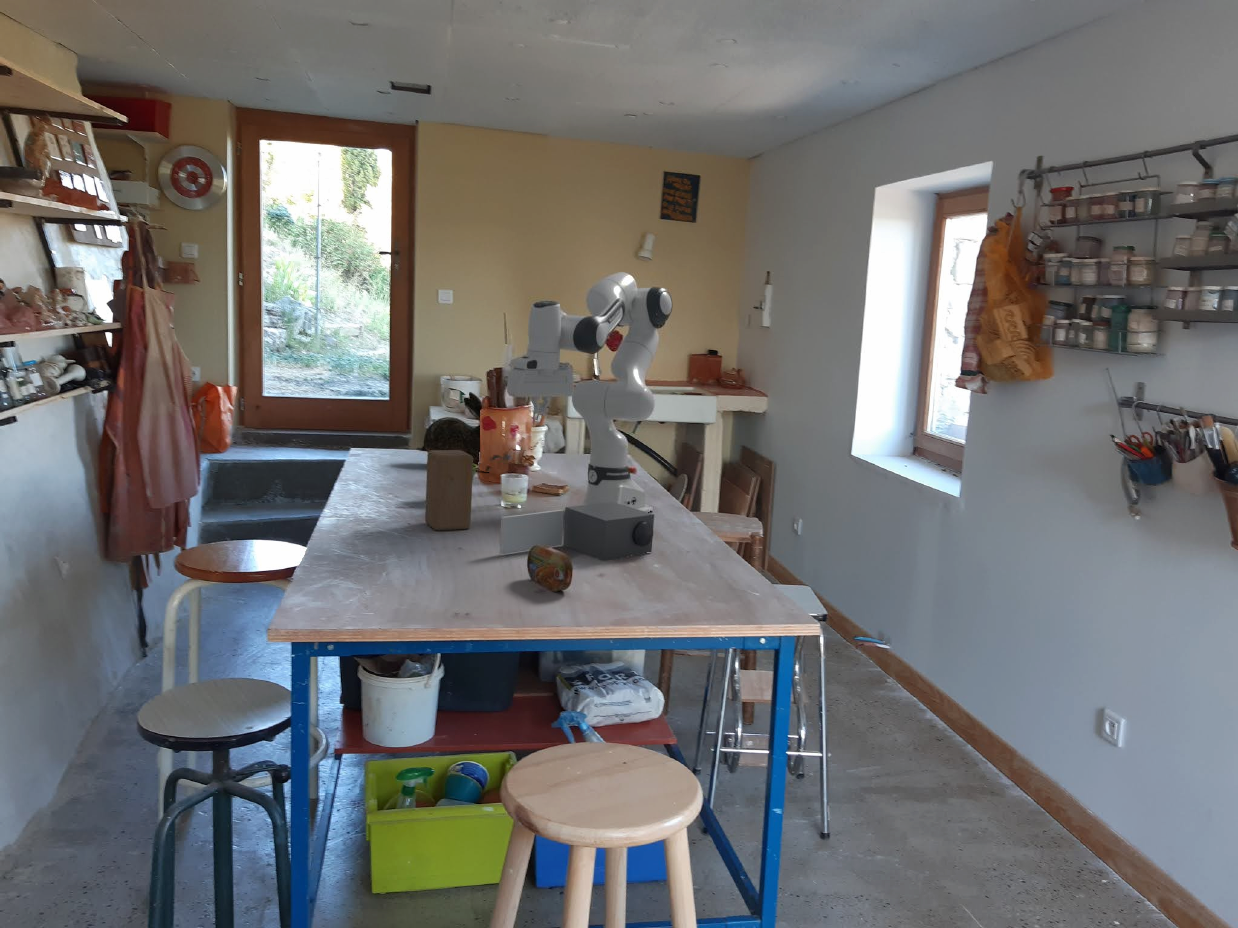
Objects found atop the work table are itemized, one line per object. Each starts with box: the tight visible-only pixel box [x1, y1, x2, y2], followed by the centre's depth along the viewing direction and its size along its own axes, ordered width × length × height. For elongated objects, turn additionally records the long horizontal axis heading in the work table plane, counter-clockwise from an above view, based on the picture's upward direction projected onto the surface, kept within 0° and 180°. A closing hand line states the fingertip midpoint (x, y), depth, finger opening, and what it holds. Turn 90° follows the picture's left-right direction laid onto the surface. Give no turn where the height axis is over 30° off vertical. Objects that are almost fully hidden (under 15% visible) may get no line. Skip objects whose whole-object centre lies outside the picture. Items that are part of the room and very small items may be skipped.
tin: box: [526, 545, 574, 593], centre depth 207 cm, size 15×3×8 cm, turn 36°
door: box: [499, 509, 565, 555], centre depth 234 cm, size 2×18×9 cm, turn 132°
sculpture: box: [416, 391, 484, 466], centre depth 337 cm, size 19×29×27 cm, turn 57°
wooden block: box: [424, 450, 473, 532], centre depth 252 cm, size 10×10×20 cm
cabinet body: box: [562, 502, 655, 561], centre depth 240 cm, size 16×17×10 cm
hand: (540, 413), depth 257 cm, fingers closed
